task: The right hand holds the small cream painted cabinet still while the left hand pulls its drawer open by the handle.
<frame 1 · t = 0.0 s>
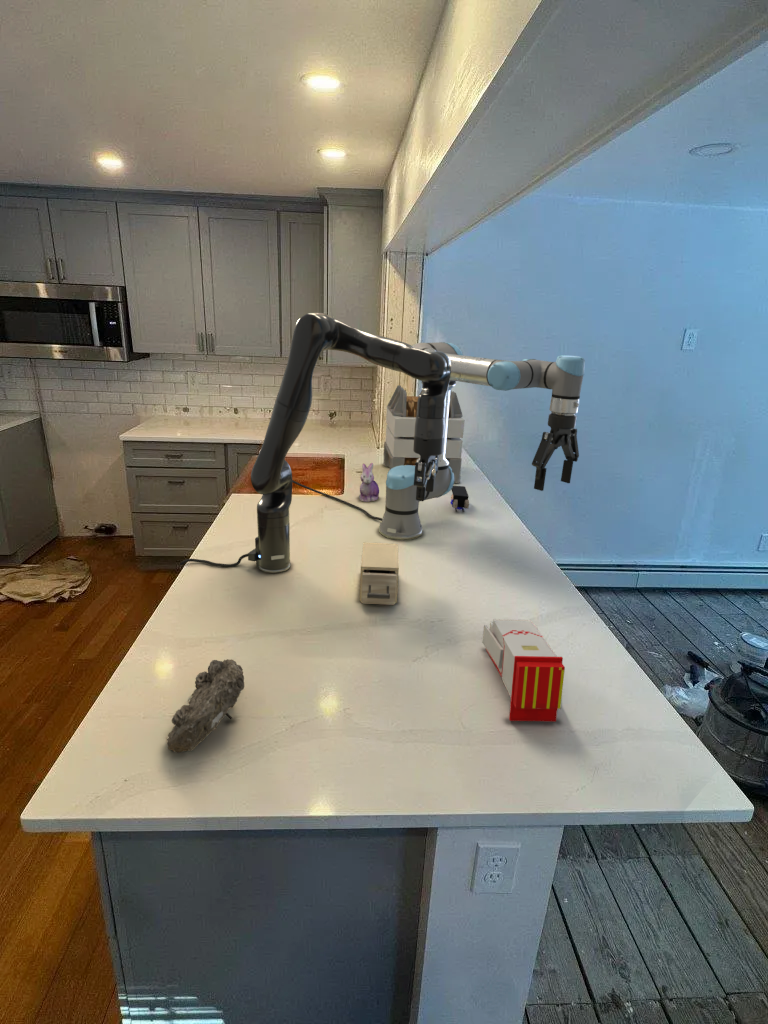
left hand: (424, 495, 147), 29 cm above the counter, tool pointing down, fingers open, 8 cm apart
right hand: (552, 485, 166), 28 cm above the counter, tool pointing down, fingers open, 13 cm apart
figurine character: (458, 508, 229), on the counter
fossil: (212, 717, 108), on the counter
figurine: (368, 499, 235), on the counter
toy: (515, 679, 123), on the counter
cabinet: (378, 588, 161), on the counter
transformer: (419, 473, 275), on the counter
drawer: (379, 581, 153), point 5 cm above the counter, slide at 1.6 cm
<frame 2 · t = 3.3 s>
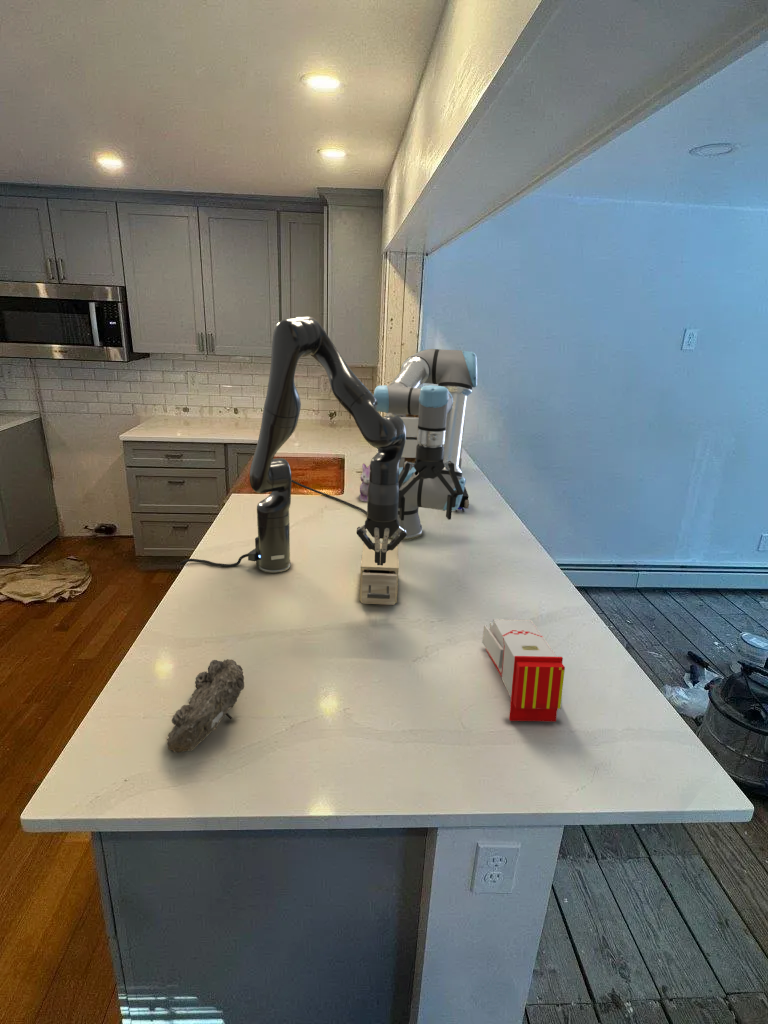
left hand: (380, 564, 143), 14 cm above the counter, tool pointing down, fingers closed
right hand: (425, 518, 160), 19 cm above the counter, tool pointing down, fingers open, 13 cm apart
nothing on the counter moved.
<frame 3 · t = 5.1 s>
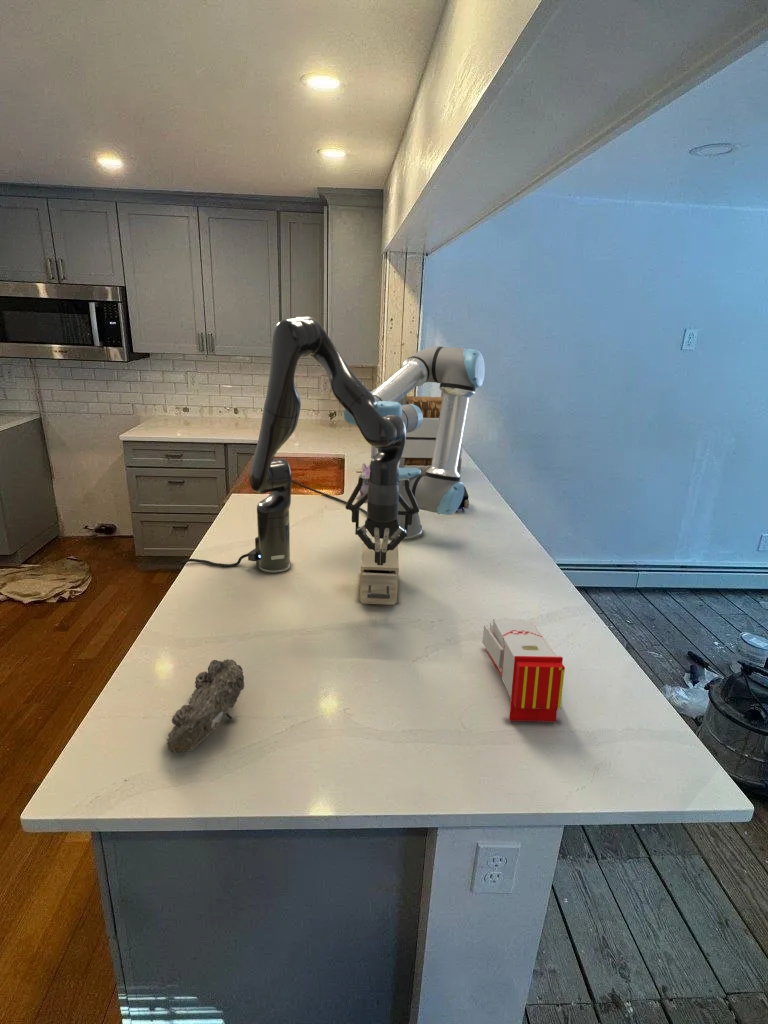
left hand: (380, 564, 143), 14 cm above the counter, tool pointing down, fingers closed
right hand: (381, 534, 159), 15 cm above the counter, tool pointing down, fingers open, 13 cm apart
nothing on the counter moved.
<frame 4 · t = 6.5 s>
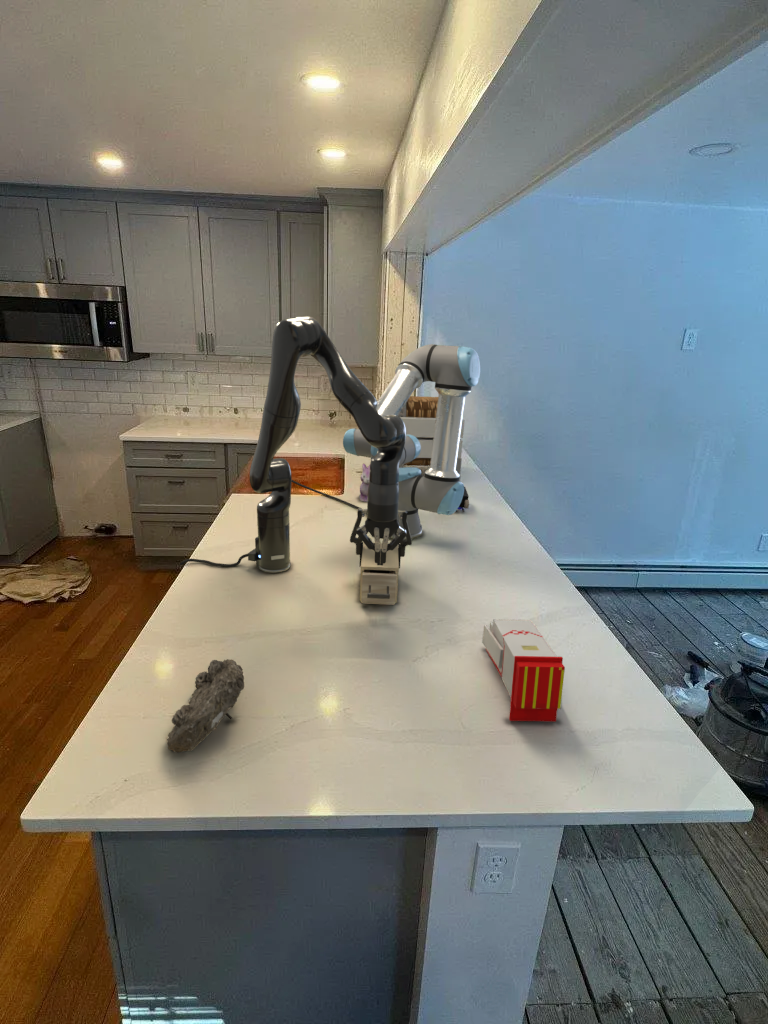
left hand: (380, 564, 143), 14 cm above the counter, tool pointing down, fingers closed
right hand: (379, 565, 162), 5 cm above the counter, tool pointing down, fingers closed on cabinet, 10 cm apart
cabinet: (378, 588, 161), on the counter, touching right hand
everything else where it was.
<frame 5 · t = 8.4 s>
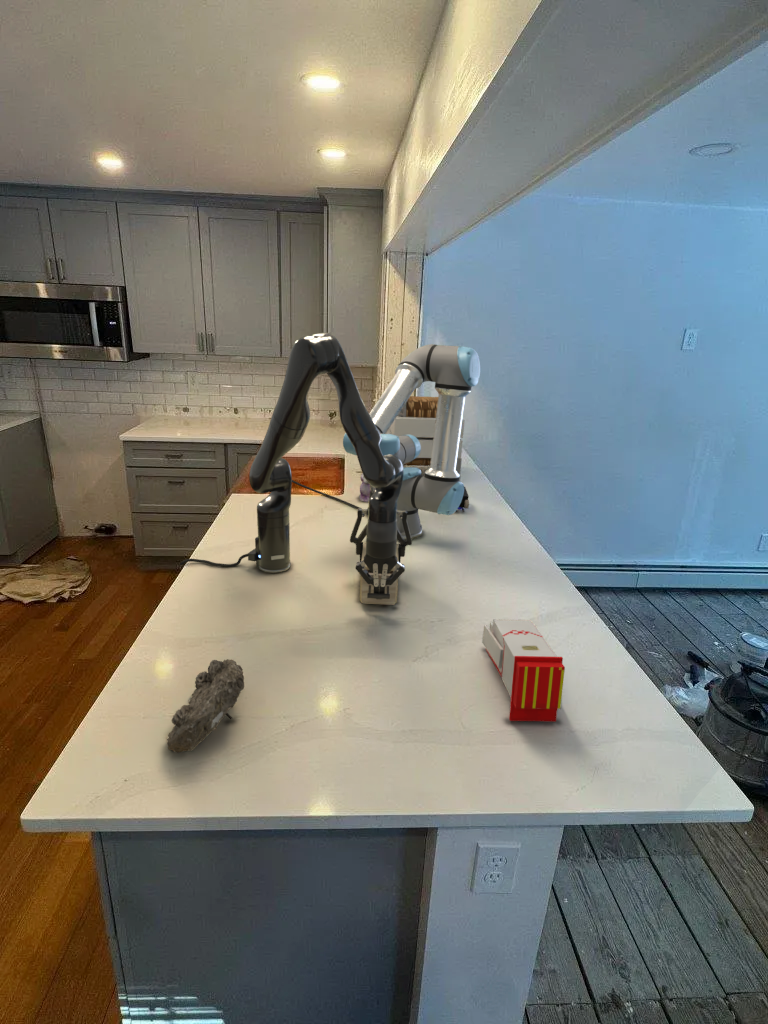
left hand: (378, 597, 146), 5 cm above the counter, tool pointing down, fingers closed
right hand: (379, 565, 162), 5 cm above the counter, tool pointing down, fingers closed on cabinet, 10 cm apart
cabinet: (378, 588, 161), on the counter, touching right hand
drawer: (379, 581, 153), point 5 cm above the counter, slide at 1.6 cm, touching left hand
everything else where it was.
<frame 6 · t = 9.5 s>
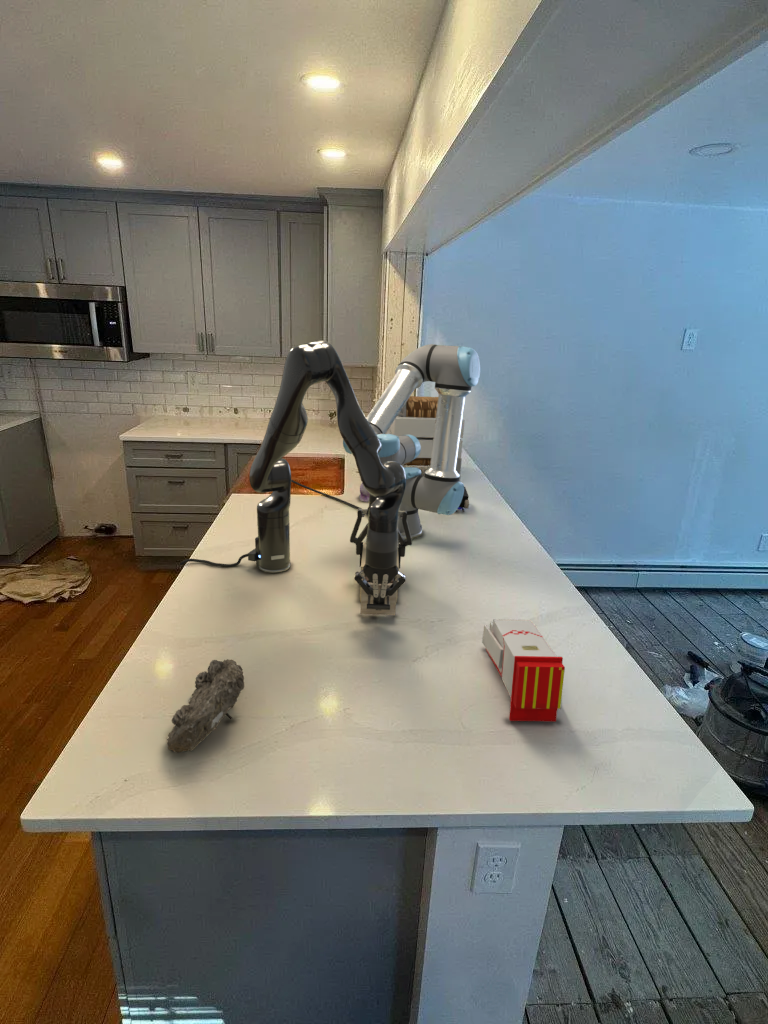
left hand: (378, 608, 140), 5 cm above the counter, tool pointing down, fingers closed
right hand: (379, 565, 162), 5 cm above the counter, tool pointing down, fingers closed on cabinet, 10 cm apart
cabinet: (378, 588, 161), on the counter, touching right hand
drawer: (378, 591, 148), point 5 cm above the counter, slide at 6.9 cm, touching left hand
everything else where it was.
when the right hand's fingers open (5 cm above the counter, at t = 11.1 s): cabinet stays where it is, on the counter.
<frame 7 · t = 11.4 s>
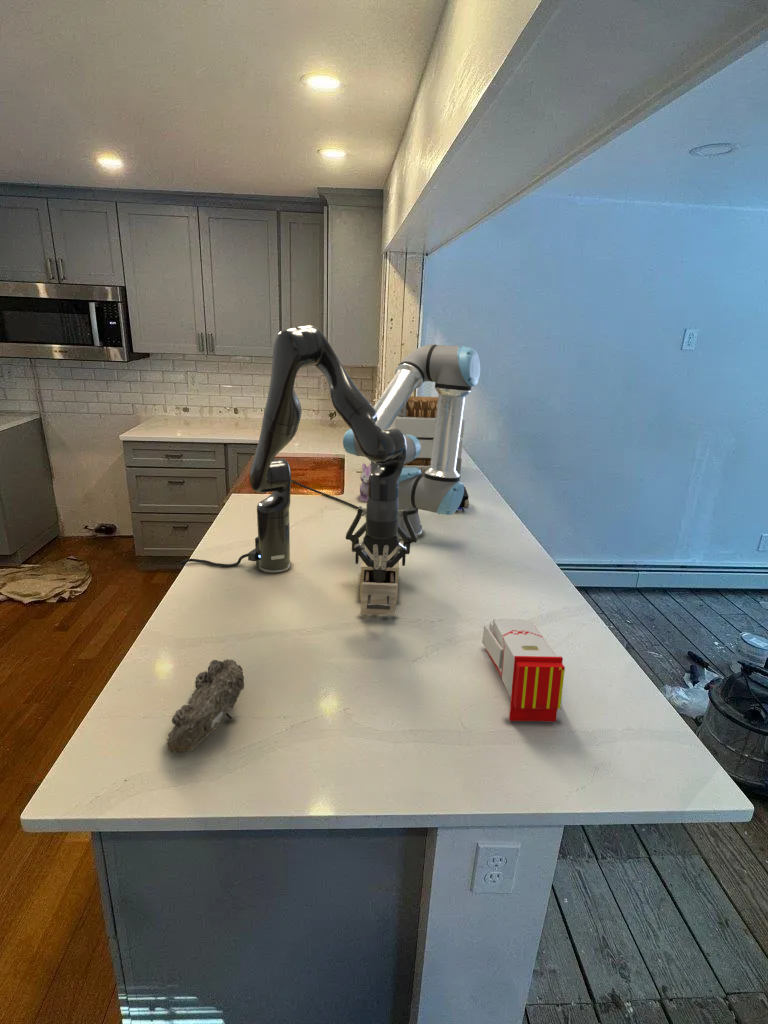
left hand: (379, 581, 138), 12 cm above the counter, tool pointing down, fingers closed
right hand: (380, 563, 162), 6 cm above the counter, tool pointing down, fingers open, 13 cm apart
cabinet: (379, 588, 161), on the counter
drawer: (379, 591, 148), point 5 cm above the counter, slide at 6.9 cm
everything else where it was.
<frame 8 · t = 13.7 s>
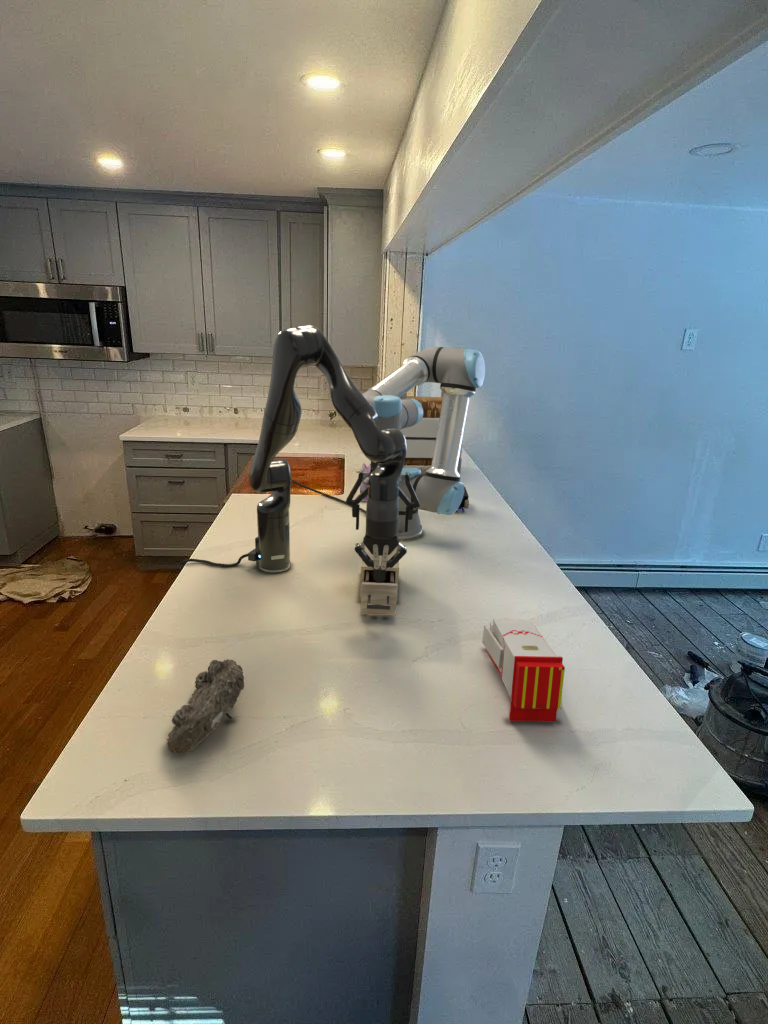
left hand: (379, 581, 138), 12 cm above the counter, tool pointing down, fingers closed
right hand: (381, 529, 158), 17 cm above the counter, tool pointing down, fingers open, 13 cm apart
nothing on the counter moved.
at the end: drawer slide at 6.9 cm; cabinet tilted 0°; cabinet never tilted more than 1° during the clip; cabinet moved 0.1 cm from its start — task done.
